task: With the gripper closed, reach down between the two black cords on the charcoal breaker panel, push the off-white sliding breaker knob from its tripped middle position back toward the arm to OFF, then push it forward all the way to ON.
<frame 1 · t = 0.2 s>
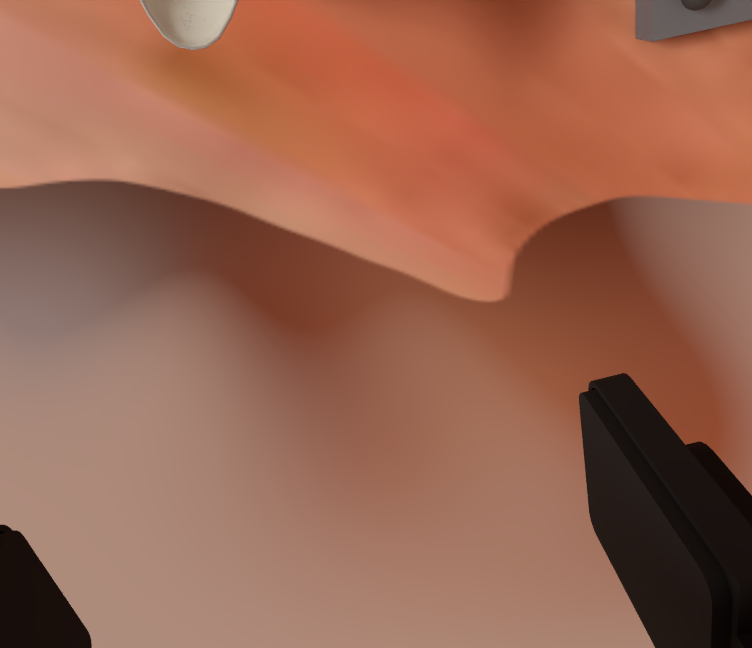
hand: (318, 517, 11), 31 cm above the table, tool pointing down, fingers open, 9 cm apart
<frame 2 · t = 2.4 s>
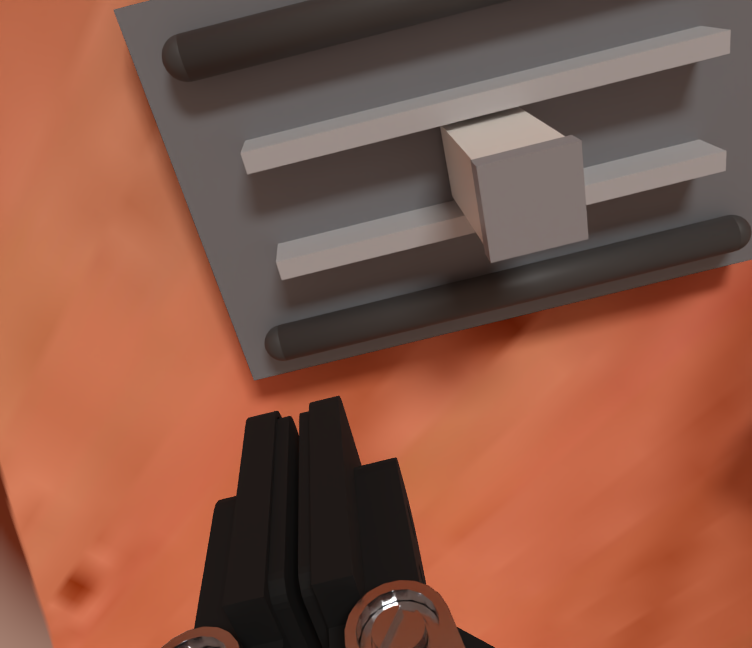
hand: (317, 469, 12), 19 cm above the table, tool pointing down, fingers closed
breaker panel: (469, 138, 28), on the table
breaker knob: (505, 174, 23), point 6 cm above the table, slide at 5.0 cm
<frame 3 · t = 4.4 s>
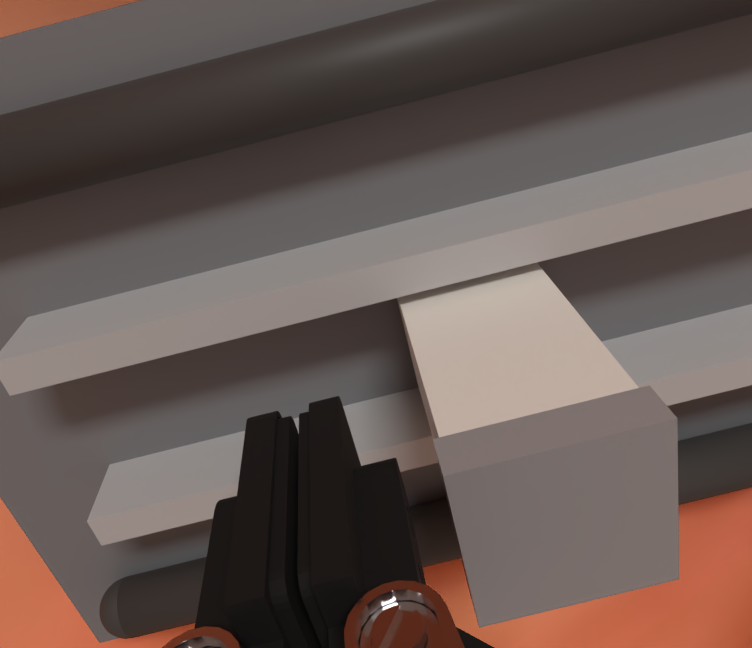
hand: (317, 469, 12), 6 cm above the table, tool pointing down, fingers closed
breaker panel: (425, 283, 18), on the table
breaker knob: (506, 398, 13), point 6 cm above the table, slide at 4.4 cm, touching gripper
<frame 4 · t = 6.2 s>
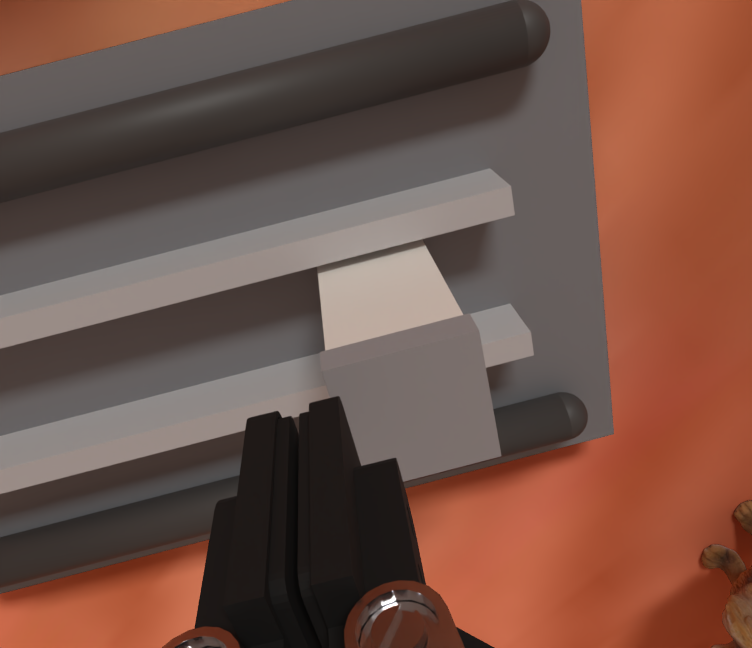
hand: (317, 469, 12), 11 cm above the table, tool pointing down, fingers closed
breaker panel: (221, 299, 22), on the table
breaker knob: (393, 340, 17), point 6 cm above the table, slide at -0.1 cm
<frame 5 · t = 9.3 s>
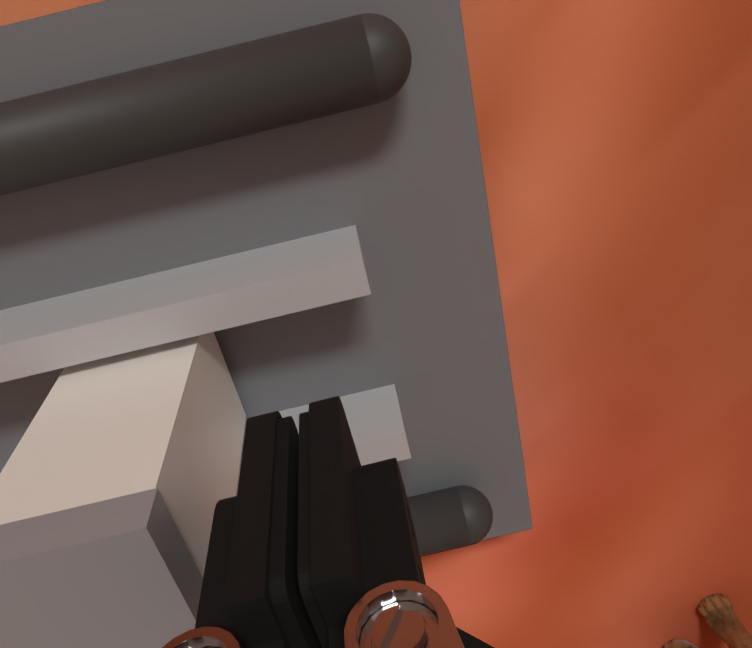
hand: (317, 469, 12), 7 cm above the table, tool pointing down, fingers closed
breaker panel: (50, 366, 18), on the table
breaker knob: (134, 475, 13), point 6 cm above the table, slide at 1.3 cm, touching gripper
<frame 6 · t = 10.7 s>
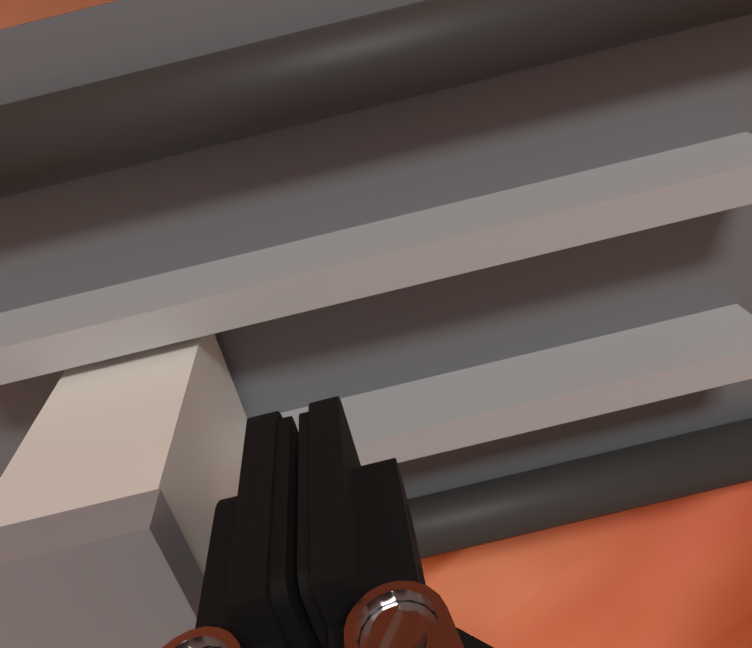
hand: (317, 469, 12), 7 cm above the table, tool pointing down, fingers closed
breaker panel: (370, 291, 18), on the table
breaker knob: (135, 477, 13), point 6 cm above the table, slide at 10.2 cm, touching gripper
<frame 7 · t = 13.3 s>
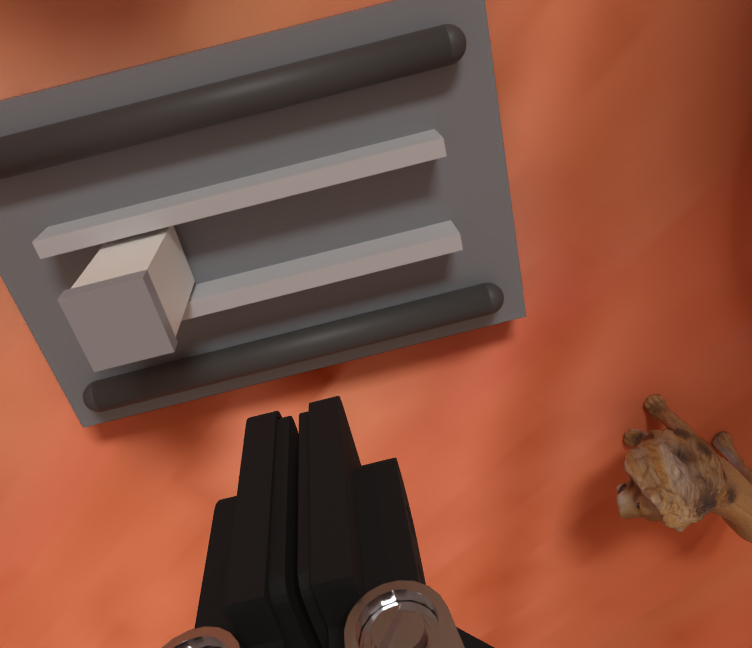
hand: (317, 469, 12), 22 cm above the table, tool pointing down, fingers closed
lion figurine: (665, 440, 42), on the table
breaker panel: (260, 218, 33), on the table
breaker knob: (136, 289, 28), point 6 cm above the table, slide at 10.1 cm
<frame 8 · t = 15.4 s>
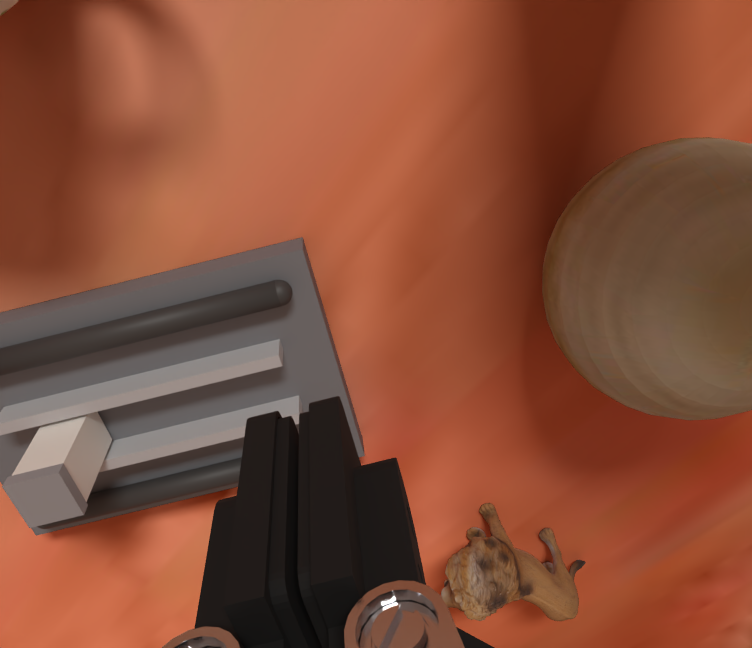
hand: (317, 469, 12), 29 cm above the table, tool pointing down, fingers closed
decorative ball: (623, 232, 43), on the table
lion figurine: (502, 534, 54), on the table
breaker panel: (162, 388, 44), on the table
breaker knob: (63, 461, 40), point 6 cm above the table, slide at 10.1 cm
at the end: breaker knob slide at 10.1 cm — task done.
